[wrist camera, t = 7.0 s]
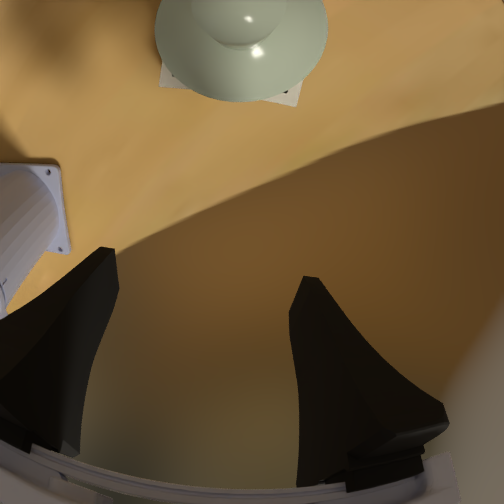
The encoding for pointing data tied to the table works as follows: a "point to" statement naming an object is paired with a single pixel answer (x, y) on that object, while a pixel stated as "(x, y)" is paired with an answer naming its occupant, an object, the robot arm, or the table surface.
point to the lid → (240, 45)
